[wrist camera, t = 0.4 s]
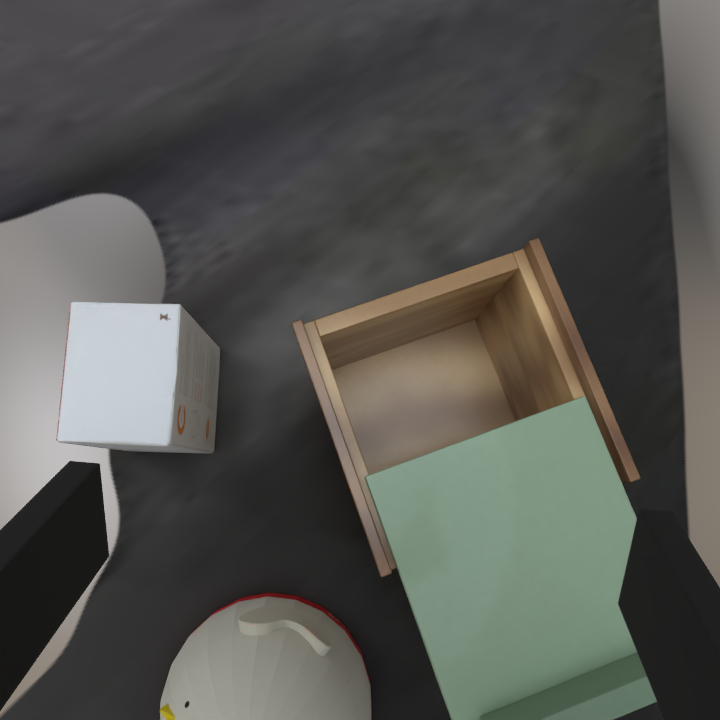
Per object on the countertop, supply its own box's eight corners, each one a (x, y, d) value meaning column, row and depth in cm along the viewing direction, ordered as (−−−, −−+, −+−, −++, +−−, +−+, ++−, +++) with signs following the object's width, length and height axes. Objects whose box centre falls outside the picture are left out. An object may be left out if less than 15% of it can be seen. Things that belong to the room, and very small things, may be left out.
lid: (686, 651, 35) (729, 672, 31) (460, 745, 33) (475, 778, 30) (580, 397, 37) (607, 387, 33) (364, 476, 36) (367, 475, 32)
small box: (136, 344, 50) (68, 297, 38) (222, 347, 51) (183, 301, 38) (127, 453, 49) (53, 443, 36) (215, 455, 49) (172, 446, 36)
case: (552, 479, 50) (641, 478, 35) (368, 549, 48) (381, 577, 34) (482, 305, 52) (538, 237, 37) (304, 368, 50) (291, 322, 36)
